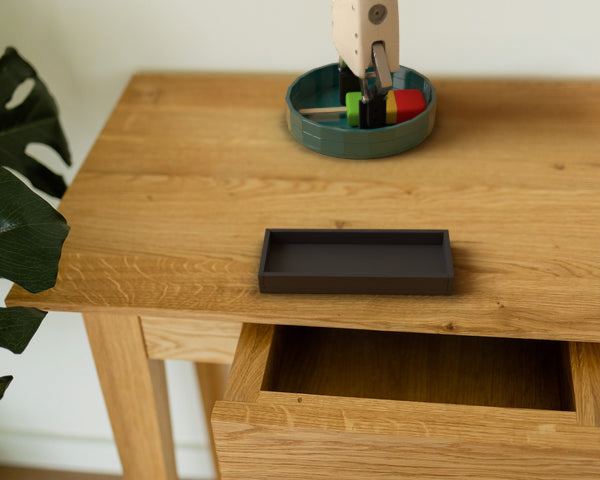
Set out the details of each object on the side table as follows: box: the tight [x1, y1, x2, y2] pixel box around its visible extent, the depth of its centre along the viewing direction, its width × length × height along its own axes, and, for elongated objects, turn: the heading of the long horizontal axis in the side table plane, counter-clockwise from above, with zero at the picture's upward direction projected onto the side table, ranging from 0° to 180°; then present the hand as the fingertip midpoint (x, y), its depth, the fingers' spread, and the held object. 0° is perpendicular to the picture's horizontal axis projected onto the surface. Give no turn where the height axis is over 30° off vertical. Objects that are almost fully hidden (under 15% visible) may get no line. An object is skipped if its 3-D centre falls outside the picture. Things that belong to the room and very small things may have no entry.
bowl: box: [284, 61, 437, 160], centre depth 91 cm, size 18×18×4 cm
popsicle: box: [299, 89, 426, 126], centre depth 91 cm, size 6×15×2 cm, turn 91°
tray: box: [257, 227, 455, 296], centre depth 71 cm, size 17×7×2 cm, turn 86°
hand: (362, 114), depth 91 cm, fingers closed on popsicle, 6 cm apart
